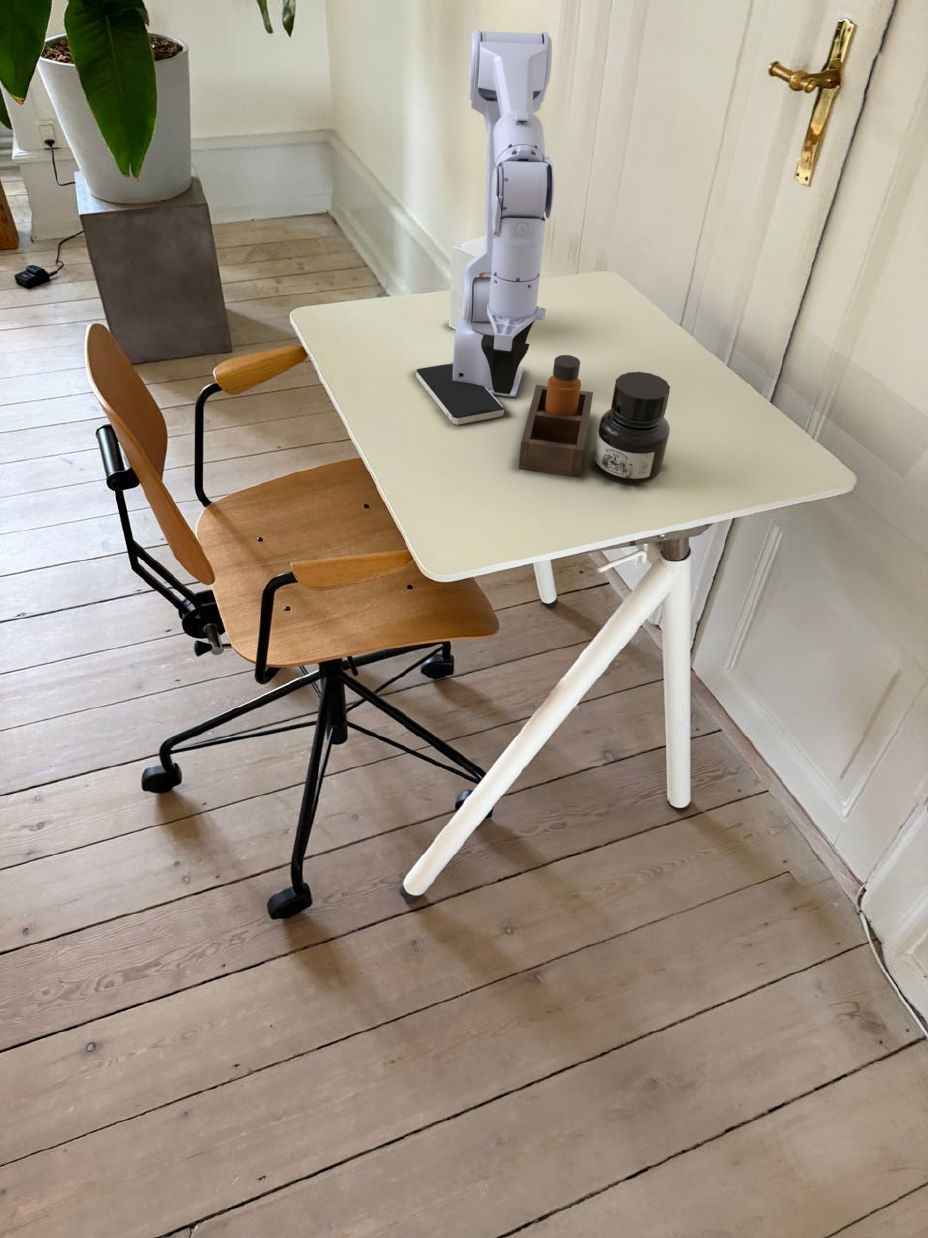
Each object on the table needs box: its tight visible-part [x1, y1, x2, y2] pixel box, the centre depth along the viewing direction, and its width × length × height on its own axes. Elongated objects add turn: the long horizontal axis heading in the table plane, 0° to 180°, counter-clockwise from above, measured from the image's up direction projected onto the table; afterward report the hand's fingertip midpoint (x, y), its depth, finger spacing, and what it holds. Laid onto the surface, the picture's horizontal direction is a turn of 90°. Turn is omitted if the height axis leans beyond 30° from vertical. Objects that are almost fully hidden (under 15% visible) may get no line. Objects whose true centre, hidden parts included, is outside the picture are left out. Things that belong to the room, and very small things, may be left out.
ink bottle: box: [593, 371, 671, 485], centre depth 118 cm, size 10×9×12 cm
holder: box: [518, 384, 594, 478], centre depth 125 cm, size 8×15×4 cm, turn 169°
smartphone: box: [415, 362, 505, 425], centre depth 134 cm, size 8×1×15 cm
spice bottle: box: [545, 354, 582, 416], centre depth 125 cm, size 4×4×10 cm
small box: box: [448, 235, 491, 331], centre depth 146 cm, size 8×6×13 cm
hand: (506, 376), depth 118 cm, fingers open, 7 cm apart
